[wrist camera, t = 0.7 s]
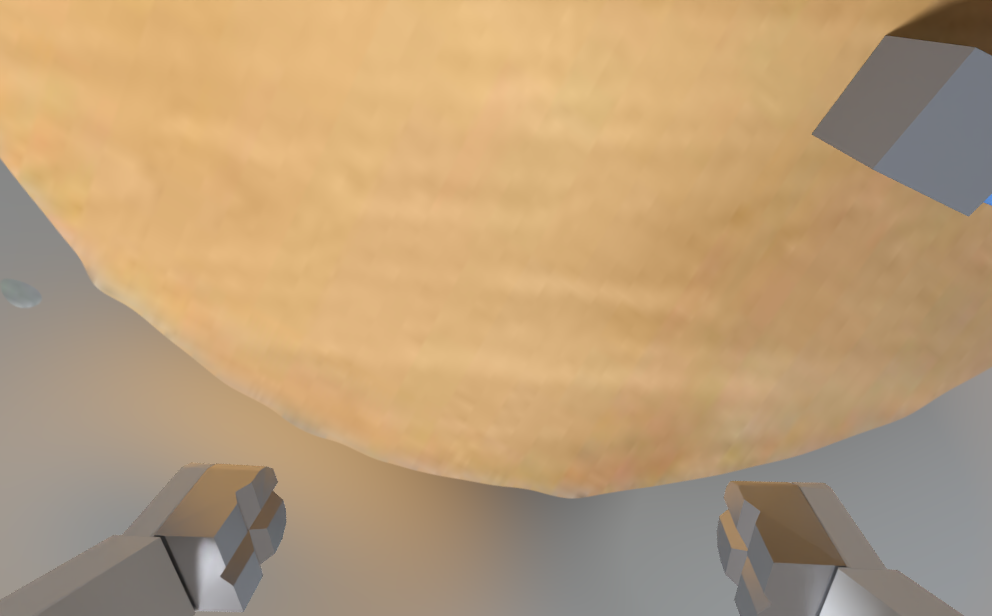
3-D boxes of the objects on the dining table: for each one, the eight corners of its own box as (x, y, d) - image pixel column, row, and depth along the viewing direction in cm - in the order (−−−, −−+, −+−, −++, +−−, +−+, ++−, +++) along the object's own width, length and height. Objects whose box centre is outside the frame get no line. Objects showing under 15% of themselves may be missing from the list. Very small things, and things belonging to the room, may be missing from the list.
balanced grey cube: (885, 35, 34) (976, 47, 26) (971, 80, 35) (1081, 104, 27) (811, 134, 38) (872, 169, 30) (890, 173, 38) (968, 216, 31)
